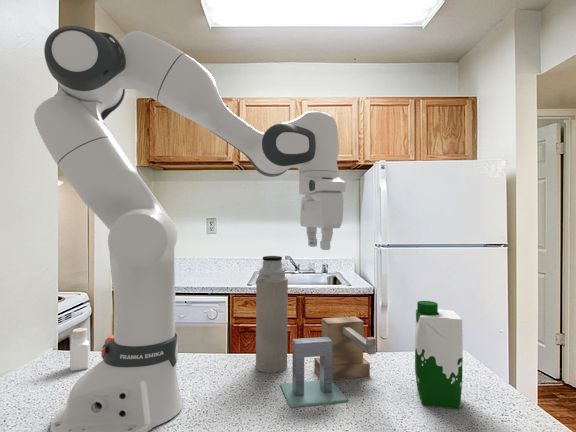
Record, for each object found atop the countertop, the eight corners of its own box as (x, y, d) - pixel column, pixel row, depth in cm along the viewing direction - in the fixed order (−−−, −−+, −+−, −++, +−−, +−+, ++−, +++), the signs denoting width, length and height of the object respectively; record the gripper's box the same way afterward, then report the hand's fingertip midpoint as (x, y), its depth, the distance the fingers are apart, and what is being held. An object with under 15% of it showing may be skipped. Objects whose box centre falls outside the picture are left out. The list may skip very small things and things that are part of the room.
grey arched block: (295, 396, 77) (296, 343, 77) (292, 389, 79) (292, 339, 80) (332, 392, 78) (332, 341, 78) (327, 386, 81) (327, 336, 81)
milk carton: (412, 387, 82) (412, 297, 82) (455, 391, 80) (456, 300, 80) (418, 407, 73) (418, 307, 74) (467, 412, 71) (467, 309, 72)
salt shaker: (69, 372, 89) (70, 332, 89) (70, 366, 92) (70, 328, 92) (88, 369, 91) (89, 330, 91) (88, 363, 94) (88, 326, 94)
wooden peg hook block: (343, 410, 72) (344, 341, 72) (314, 370, 91) (314, 315, 91) (399, 403, 75) (399, 337, 75) (359, 366, 94) (359, 313, 94)
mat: (290, 407, 73) (290, 405, 73) (280, 385, 82) (280, 383, 82) (347, 401, 75) (347, 399, 75) (330, 380, 85) (330, 378, 85)
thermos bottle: (267, 358, 99) (268, 254, 99) (293, 364, 94) (293, 255, 95) (249, 368, 92) (250, 256, 92) (275, 375, 88) (276, 258, 88)
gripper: (294, 189, 91) (294, 245, 91) (318, 181, 71) (318, 252, 71) (318, 190, 93) (318, 244, 93) (349, 182, 73) (348, 251, 73)
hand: (318, 248), depth 82 cm, fingers open, 8 cm apart
